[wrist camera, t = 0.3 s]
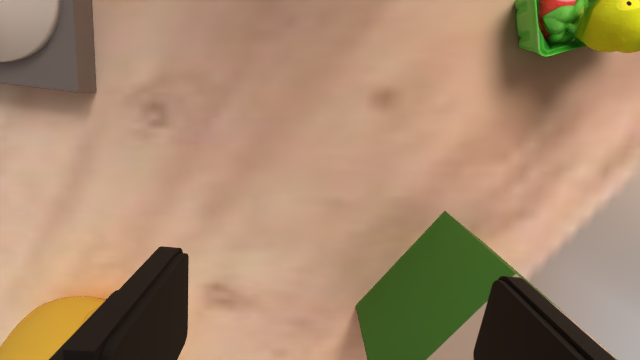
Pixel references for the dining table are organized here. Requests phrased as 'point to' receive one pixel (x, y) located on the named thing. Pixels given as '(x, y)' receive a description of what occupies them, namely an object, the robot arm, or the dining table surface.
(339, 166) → the dining table surface
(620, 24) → the fruit basket
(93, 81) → the scale
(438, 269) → the hardback book
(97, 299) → the teapot
